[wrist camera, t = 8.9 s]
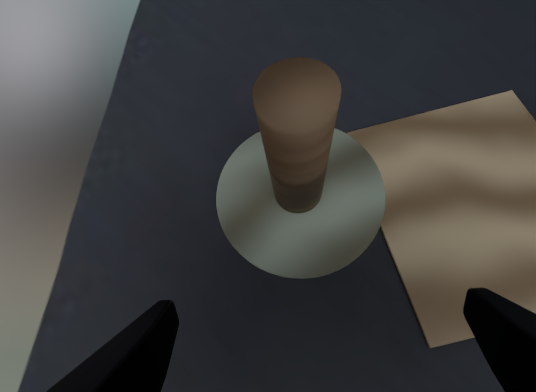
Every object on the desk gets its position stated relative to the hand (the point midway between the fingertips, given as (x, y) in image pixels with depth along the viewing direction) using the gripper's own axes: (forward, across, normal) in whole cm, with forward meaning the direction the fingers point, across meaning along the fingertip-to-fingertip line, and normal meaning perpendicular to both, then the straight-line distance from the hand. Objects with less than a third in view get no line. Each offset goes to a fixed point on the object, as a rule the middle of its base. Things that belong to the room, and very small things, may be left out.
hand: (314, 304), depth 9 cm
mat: (+15, -14, +4) cm, 21 cm away
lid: (+13, 0, +2) cm, 13 cm away
